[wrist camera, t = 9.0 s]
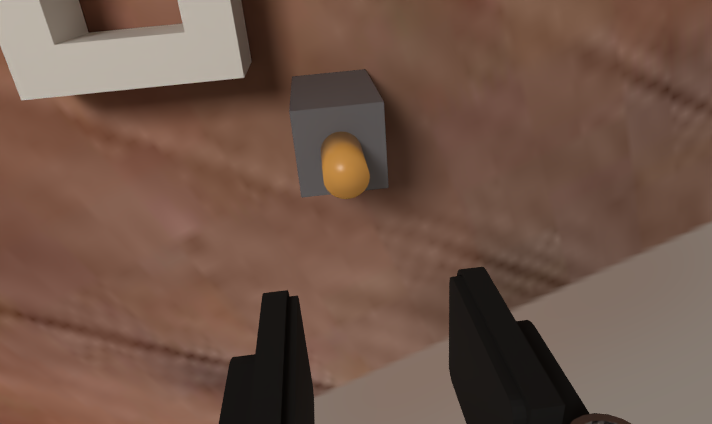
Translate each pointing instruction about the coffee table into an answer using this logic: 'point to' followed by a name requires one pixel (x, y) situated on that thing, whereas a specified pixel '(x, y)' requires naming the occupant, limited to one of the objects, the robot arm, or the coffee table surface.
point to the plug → (338, 134)
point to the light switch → (119, 48)
